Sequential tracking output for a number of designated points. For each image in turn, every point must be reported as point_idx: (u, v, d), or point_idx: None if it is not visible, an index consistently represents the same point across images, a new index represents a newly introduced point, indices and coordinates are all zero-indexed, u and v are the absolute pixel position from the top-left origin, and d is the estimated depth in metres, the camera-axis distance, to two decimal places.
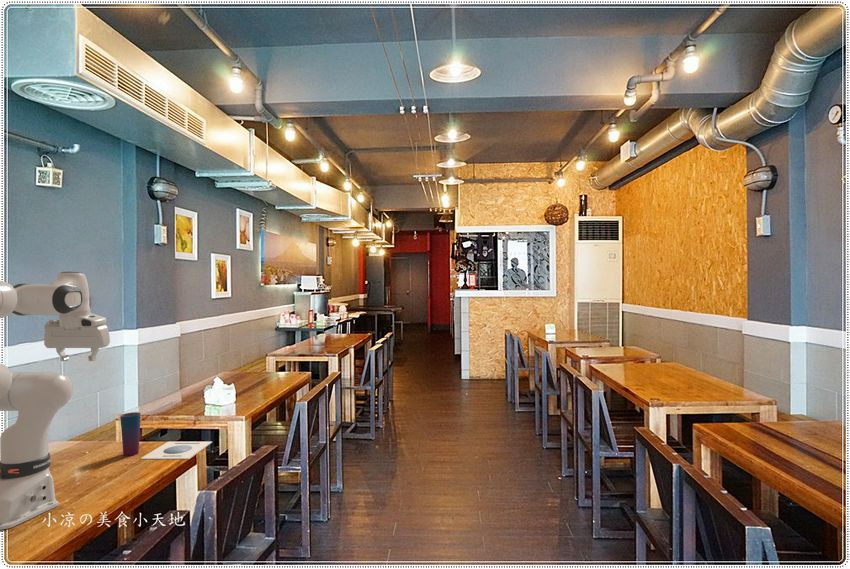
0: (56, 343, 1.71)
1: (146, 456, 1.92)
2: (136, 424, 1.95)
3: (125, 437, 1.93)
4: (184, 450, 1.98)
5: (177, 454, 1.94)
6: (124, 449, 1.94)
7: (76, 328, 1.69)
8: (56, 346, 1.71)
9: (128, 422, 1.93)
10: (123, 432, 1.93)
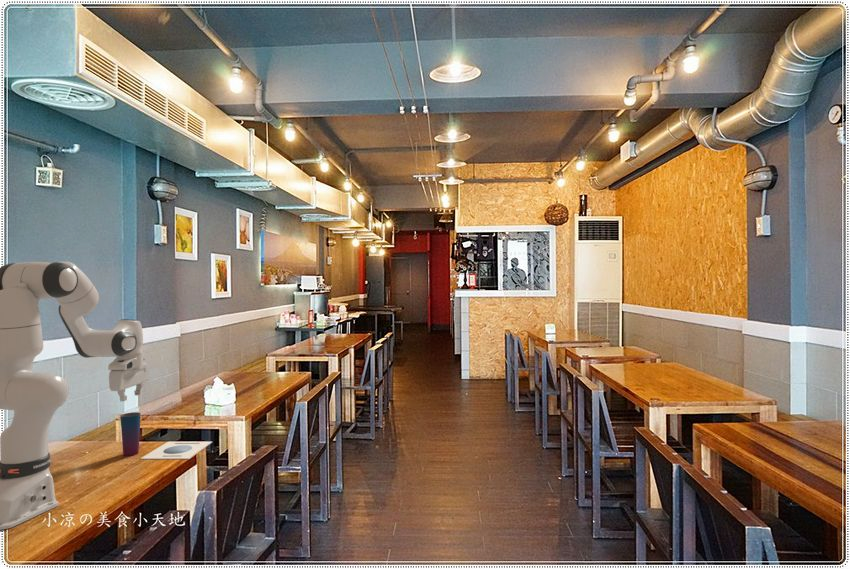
0: None
1: (146, 456, 1.92)
2: (136, 424, 1.95)
3: (125, 437, 1.93)
4: (184, 450, 1.98)
5: (177, 454, 1.94)
6: (124, 449, 1.94)
7: None
8: None
9: (128, 422, 1.93)
10: (123, 432, 1.93)
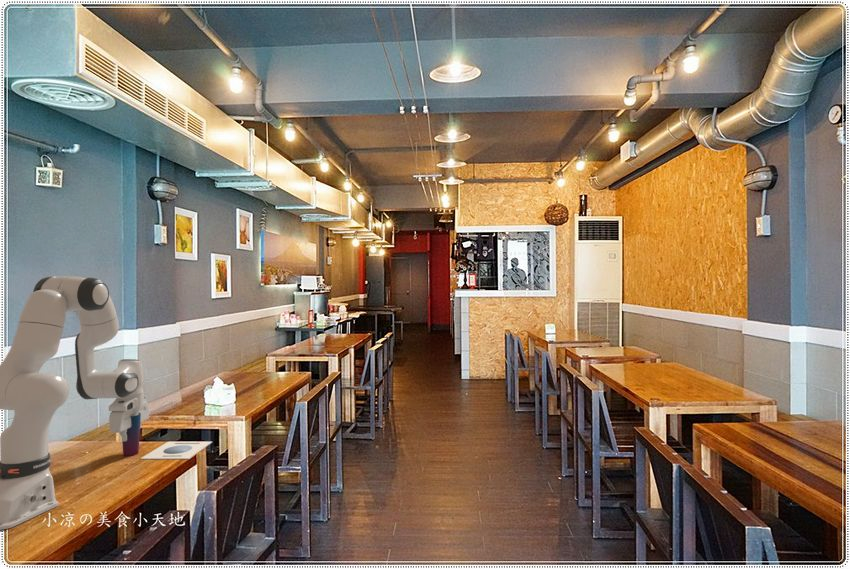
0: None
1: (146, 456, 1.92)
2: (136, 424, 1.95)
3: None
4: (184, 450, 1.98)
5: (177, 454, 1.94)
6: (124, 449, 1.94)
7: None
8: None
9: None
10: None
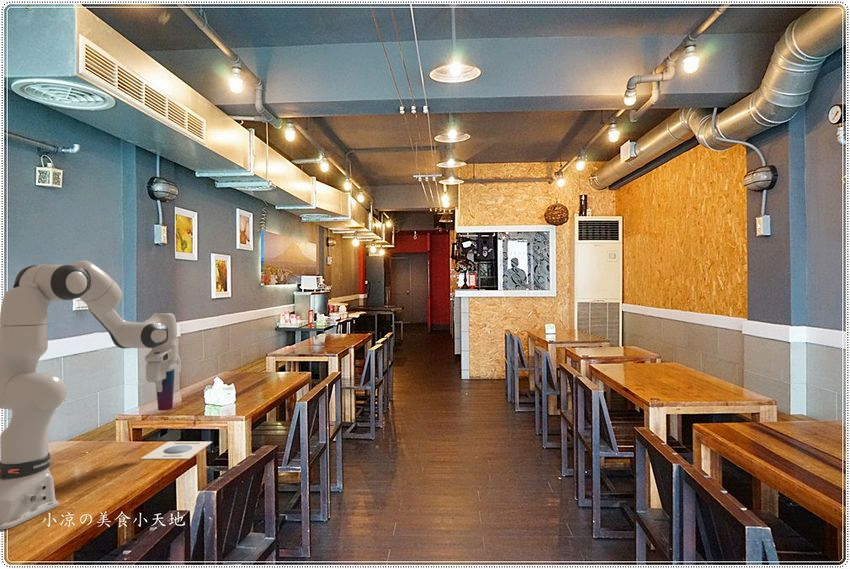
0: None
1: (146, 456, 1.92)
2: (171, 379, 1.98)
3: (160, 392, 1.96)
4: (184, 450, 1.98)
5: (177, 454, 1.94)
6: (159, 404, 1.97)
7: None
8: None
9: None
10: None
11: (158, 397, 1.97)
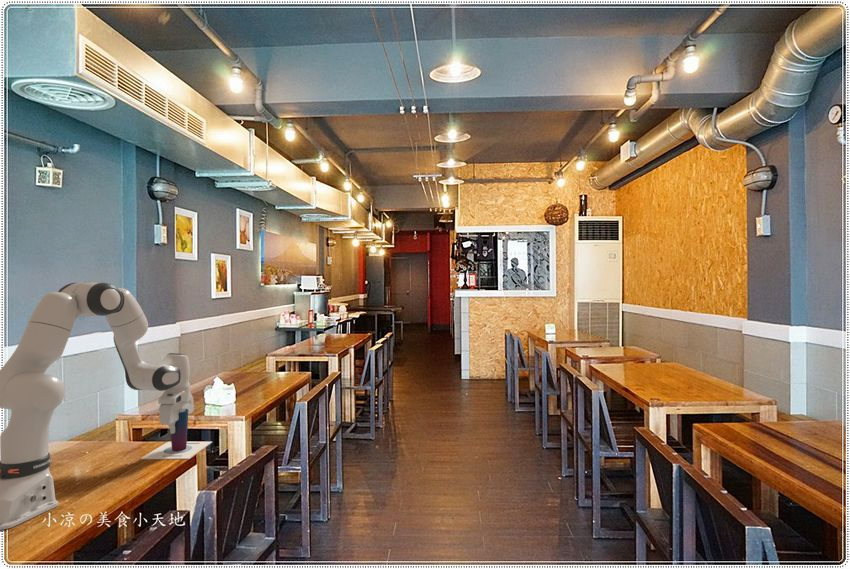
0: None
1: (146, 456, 1.92)
2: (185, 420, 1.99)
3: (174, 433, 1.97)
4: (184, 450, 1.98)
5: (177, 454, 1.94)
6: (173, 444, 1.97)
7: None
8: None
9: None
10: None
11: (172, 438, 1.97)
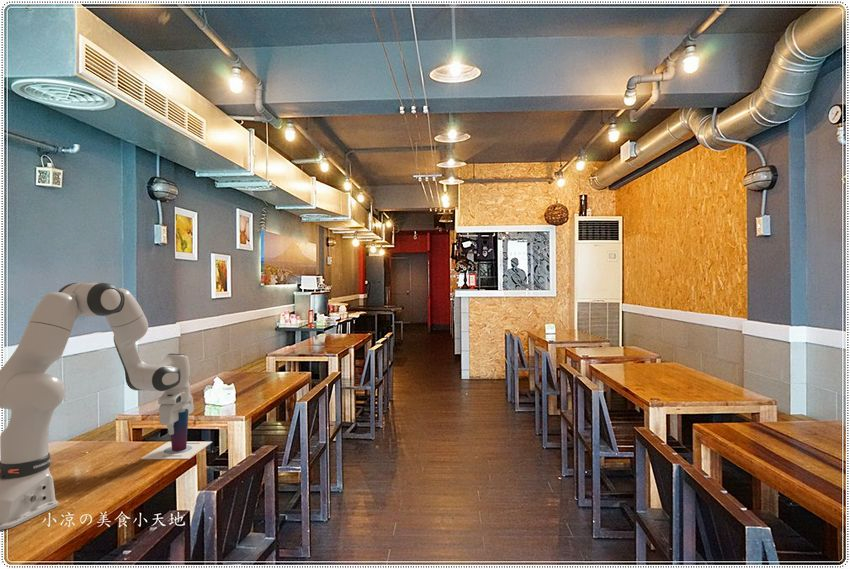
0: None
1: (146, 456, 1.92)
2: (185, 420, 1.99)
3: (174, 433, 1.97)
4: (184, 450, 1.98)
5: (177, 454, 1.94)
6: (173, 444, 1.97)
7: None
8: None
9: None
10: None
11: (172, 438, 1.97)
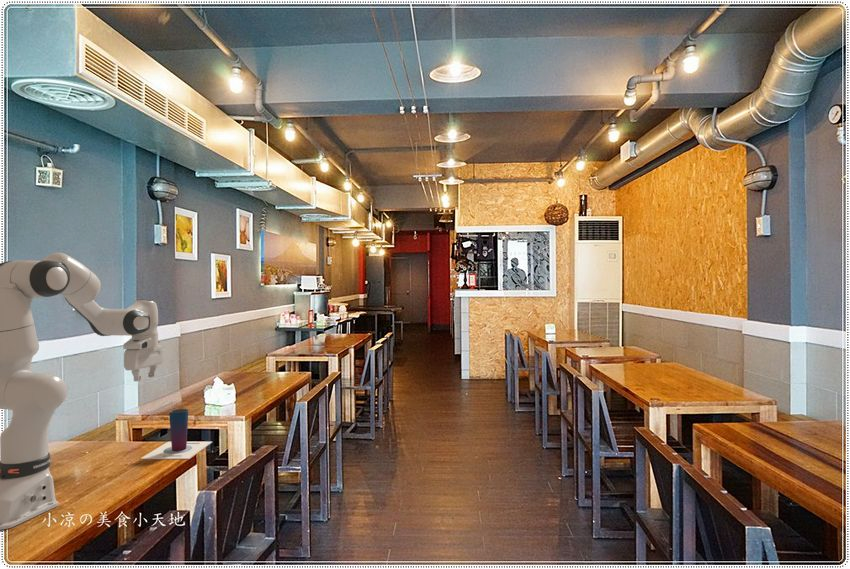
0: None
1: (146, 456, 1.92)
2: (185, 420, 1.99)
3: (174, 433, 1.97)
4: (184, 450, 1.98)
5: (177, 454, 1.94)
6: (173, 444, 1.97)
7: None
8: None
9: (177, 417, 1.97)
10: (172, 428, 1.97)
11: (172, 438, 1.97)
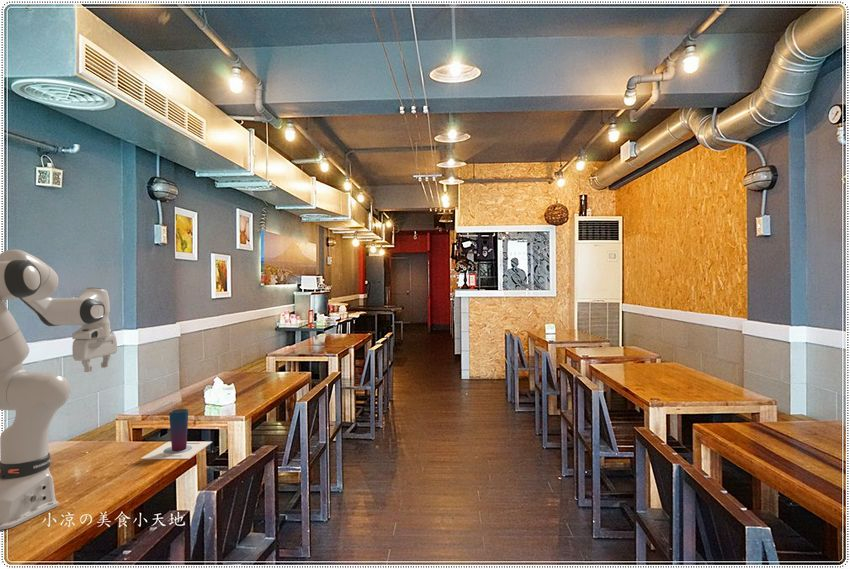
0: None
1: (146, 456, 1.92)
2: (185, 420, 1.99)
3: (174, 433, 1.97)
4: (184, 450, 1.98)
5: (177, 454, 1.94)
6: (173, 444, 1.97)
7: None
8: None
9: (177, 417, 1.97)
10: (172, 428, 1.97)
11: (172, 438, 1.97)
